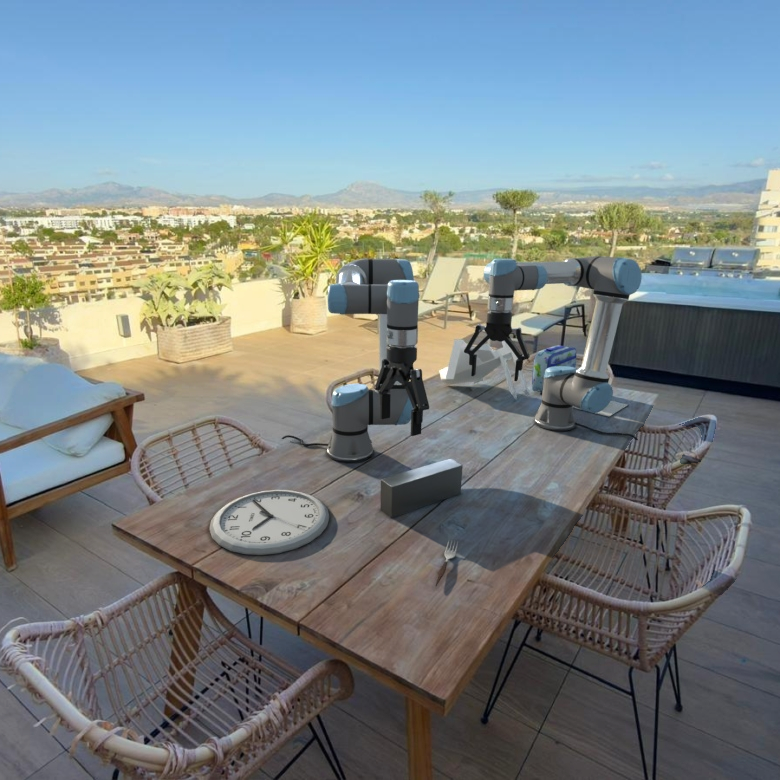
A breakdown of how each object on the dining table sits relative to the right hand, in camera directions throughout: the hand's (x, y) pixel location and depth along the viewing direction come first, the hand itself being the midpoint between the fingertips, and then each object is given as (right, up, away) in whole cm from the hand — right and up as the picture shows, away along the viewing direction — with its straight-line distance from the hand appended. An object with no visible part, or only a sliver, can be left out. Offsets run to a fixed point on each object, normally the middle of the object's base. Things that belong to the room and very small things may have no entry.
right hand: (494, 377), depth 166 cm
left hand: (-31, -13, -32) cm, 46 cm away
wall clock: (-64, -38, -31) cm, 81 cm away
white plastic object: (+8, -5, +77) cm, 78 cm away
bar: (-24, -35, -20) cm, 47 cm away
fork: (-21, -44, -48) cm, 69 cm away
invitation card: (+58, -11, +60) cm, 84 cm away
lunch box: (+44, -4, +82) cm, 93 cm away
